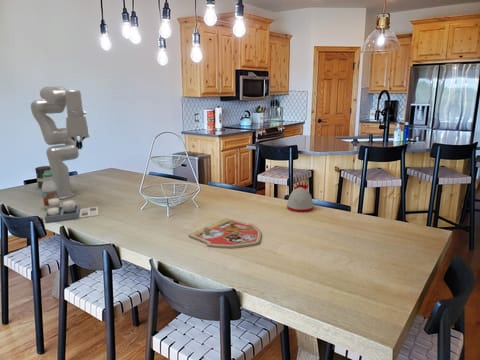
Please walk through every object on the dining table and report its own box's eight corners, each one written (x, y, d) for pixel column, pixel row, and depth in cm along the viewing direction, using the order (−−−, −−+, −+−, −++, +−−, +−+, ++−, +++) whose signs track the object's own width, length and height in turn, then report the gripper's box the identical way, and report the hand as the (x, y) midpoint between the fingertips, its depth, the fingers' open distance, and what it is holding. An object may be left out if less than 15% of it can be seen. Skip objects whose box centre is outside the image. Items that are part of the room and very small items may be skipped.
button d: (64, 210, 183) (63, 200, 182) (75, 208, 185) (74, 199, 184) (64, 213, 179) (62, 203, 178) (74, 211, 181) (73, 202, 179)
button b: (66, 211, 191) (65, 202, 189) (76, 209, 193) (75, 201, 191) (65, 214, 186) (64, 204, 185) (76, 212, 188) (74, 203, 187)
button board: (48, 213, 189) (47, 208, 188) (79, 209, 194) (78, 204, 194) (45, 223, 175) (44, 217, 175) (78, 218, 181) (77, 213, 180)
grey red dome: (312, 213, 184) (314, 185, 180) (286, 211, 187) (286, 184, 183) (313, 204, 197) (314, 178, 193) (288, 203, 200) (288, 177, 196)
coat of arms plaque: (228, 220, 177) (228, 211, 176) (278, 234, 159) (278, 225, 158) (184, 239, 155) (184, 229, 154) (236, 258, 137) (236, 247, 136)
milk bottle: (41, 209, 196) (35, 174, 191) (54, 205, 202) (49, 171, 198) (50, 211, 192) (45, 175, 187) (63, 207, 199) (58, 172, 194)
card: (80, 210, 194) (80, 208, 194) (97, 207, 197) (97, 206, 197) (79, 218, 181) (79, 216, 181) (98, 215, 185) (98, 214, 184)
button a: (50, 207, 187) (48, 198, 186) (60, 206, 189) (59, 197, 188) (49, 210, 183) (47, 201, 182) (59, 209, 185) (58, 200, 183)
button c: (49, 217, 181) (48, 208, 180) (60, 216, 183) (58, 206, 182) (48, 220, 177) (46, 211, 176) (59, 219, 179) (58, 209, 177)
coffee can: (37, 190, 234) (34, 169, 230) (38, 187, 243) (35, 166, 239) (55, 188, 238) (52, 168, 234) (55, 185, 247) (52, 165, 244)
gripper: (90, 113, 191) (94, 147, 195) (60, 114, 186) (64, 149, 190) (90, 114, 184) (94, 149, 189) (58, 115, 179) (63, 151, 183)
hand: (79, 149), depth 189 cm, fingers closed
